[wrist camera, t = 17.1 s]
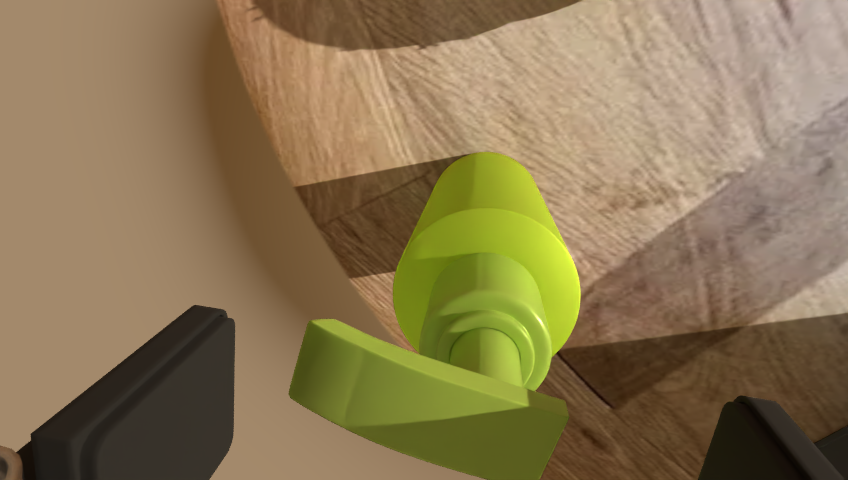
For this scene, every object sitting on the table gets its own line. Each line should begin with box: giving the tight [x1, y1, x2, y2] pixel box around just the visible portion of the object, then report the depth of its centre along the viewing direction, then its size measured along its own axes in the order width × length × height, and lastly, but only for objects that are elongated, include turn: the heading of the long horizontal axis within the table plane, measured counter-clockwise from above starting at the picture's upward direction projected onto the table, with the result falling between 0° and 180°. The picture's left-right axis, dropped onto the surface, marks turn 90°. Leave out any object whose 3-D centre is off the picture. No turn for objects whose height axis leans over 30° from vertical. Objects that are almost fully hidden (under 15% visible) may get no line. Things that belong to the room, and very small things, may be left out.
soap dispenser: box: [289, 152, 580, 480], centre depth 20 cm, size 6×7×20 cm
